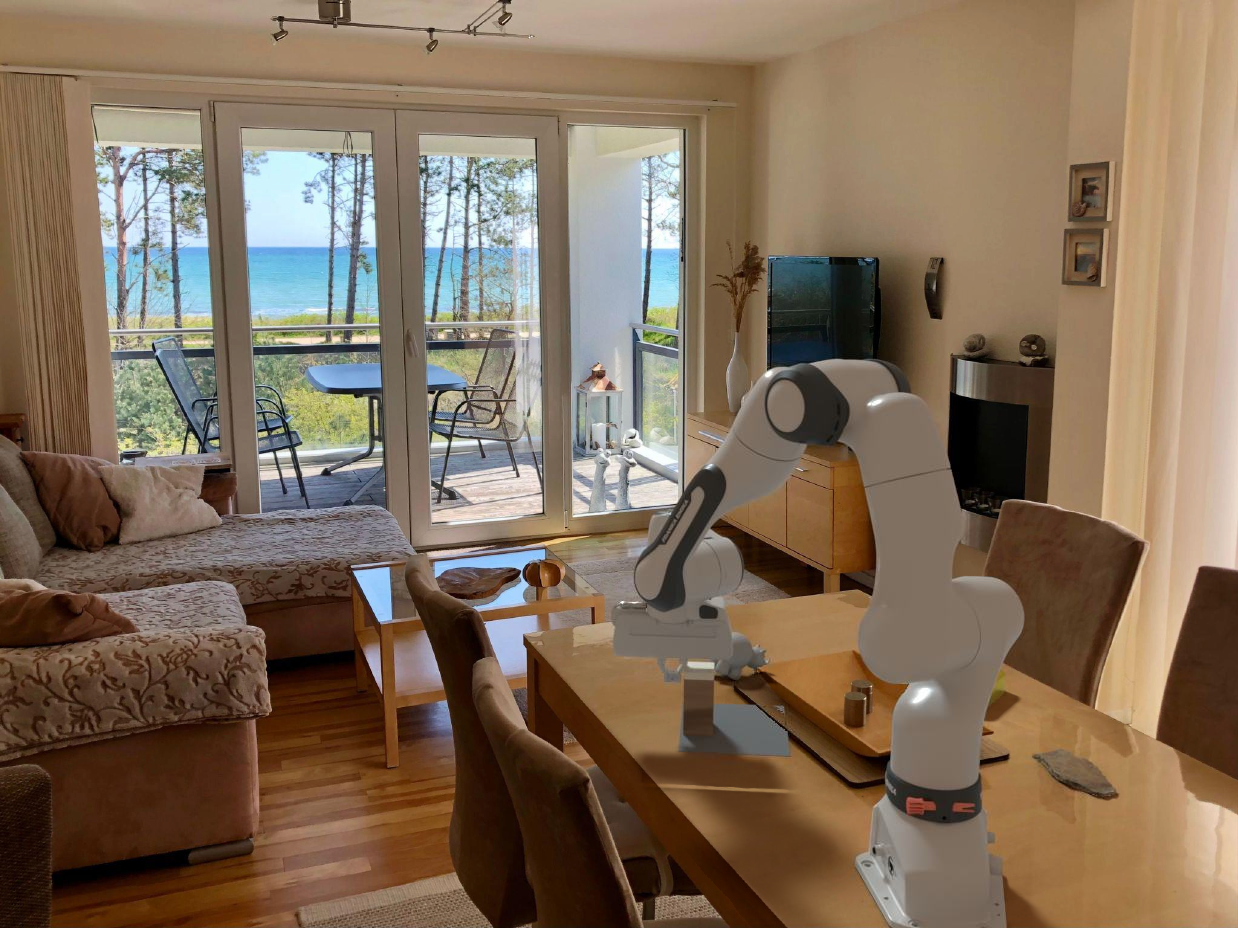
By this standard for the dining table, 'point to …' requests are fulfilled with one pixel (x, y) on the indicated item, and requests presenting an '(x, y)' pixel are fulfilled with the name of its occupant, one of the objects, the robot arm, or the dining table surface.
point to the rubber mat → (739, 733)
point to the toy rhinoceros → (740, 658)
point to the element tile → (998, 688)
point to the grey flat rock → (1076, 772)
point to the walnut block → (698, 698)
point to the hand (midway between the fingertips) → (672, 681)
